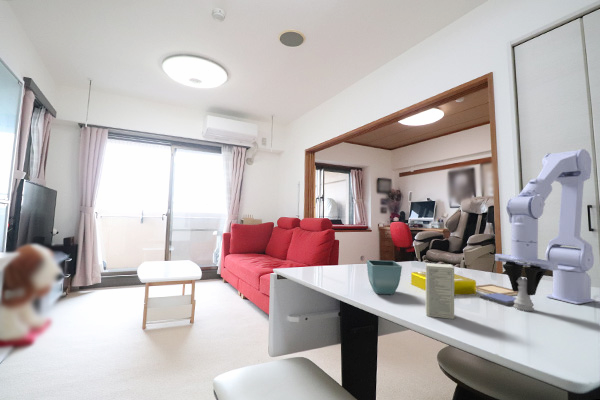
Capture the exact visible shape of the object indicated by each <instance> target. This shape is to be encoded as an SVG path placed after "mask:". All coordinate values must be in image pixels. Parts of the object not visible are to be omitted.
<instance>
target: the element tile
mask: <svg viewBox="0 0 600 400" xmlns="http://www.w3.org/2000/svg"><path fill="white" fill-rule="evenodd" d="M410 277H411V278H410V284H411V285H412V286H414V287H416V288H417V289H418V288H419V289H421V290H423V291H425V292H426V270H425V271H422V270H420V271H412V272H411V273H410ZM476 286H477V280H475V279H472V278H469V277H465V276H463V275H459V274H456V273H454V296H456V295H457V296H460V295H476V294H477V290H476Z"/></svg>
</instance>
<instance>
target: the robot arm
mask: <svg viewBox="0 0 600 400" xmlns="http://www.w3.org/2000/svg"><path fill="white" fill-rule="evenodd" d="M541 160H542V161H541V164H542V168H541V171H540V172H539V174H538V176H537V178H532V179H530V180H529V181H528V182H527V183H526V185H525V186H524V188H523V189H521V191H520V193H519V194H518V195H517V196H513V197H512V198H510V199H509V200H508V202H507V205H506V213H507V216H508V222H509V224H510V225H511V229H510V231H511V232H510V235H511V237H510V240H511V241H510V242H511V243H510V244H511V245H510V254H504V253H503V254H502V253H495V254H494V261H495V262H503V263H504V264H503V263H502V268H503V269H504V271H505V273H506V274H507V276H508V280H509V282H510V285H511V289H512V290H513V291H515V292H516V291H518V283H517V282H516V281H517V280H518V278H520V277H522V271H523V268H524V272H525V276H526V277H525V278H526V279H527V294H528V295H530V296H536V292H537V288H538V287H539V284H540V282H541V279H542V278H543V277H544V275H545V274H546V273H547V270H549V271H552V294H546V295H545V297H546V298H549V299H550V298H551V299H554V300H559V301H563V302H565V303H571V304H575V305H581V304H585V303H593V302H595V301H596V300H595V299H593V298H592V293H591V292H592V282H591V281H592V280H591V277H590V275H589V274H588V271H590V270H591V269H592V268H593V266H594V262H595V261H594V260H595V258H594V253H593V246H592V244H591V243H590V242H588V241H586V240H585V239H583V238H582V237H581V228H582V213H583V210H582V209H583V199H584V198H583V197H584V182H586V181H587V180H589V179H590V178H591V174H592V158H591V154H590V153H589V152H588V151H587V150H586V149H584V148H581V149H578V150H577V149H576V150H570V151H569V150H568V151H563V152H562V151H561V152H555V153H554V152H553V153H551V152H550V153H546V154H544V156H543V157H542V159H541ZM554 182H557V183H560V185H561V193H560V207H559V220H558V232H557V233H558V235H556V236H555V237H553V238H552V239H550V240H549V241H548V243H547V248H546V250H545V255H544V258H545V259H540V258H539V257H538V255H539V254H538V253H539V252H538V249H539V247H538V246H539V244H538V243H539V241H538V240H539V236H538V235H539V231H538V230H539V218H541V217H542V215H543V214H544V209H545V208H544V207H545V204H546V203H545V201H546V200H547V198H548V197H549V195H551V193H552V192H553V186H552V184H553V183H554ZM524 266H525V267H524ZM526 266H527V267H526Z"/></svg>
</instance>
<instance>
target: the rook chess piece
mask: <svg viewBox="0 0 600 400" xmlns="http://www.w3.org/2000/svg"><path fill="white" fill-rule="evenodd" d="M516 282H517V283H518V295H516V297H515V298H516V300H514V303H515V304H514V305H512V306H513V307H514V308H515V309H516V308H517V310H519V309H520V310H519V311H523V310H524V312H532V311H534V309H535V308H534V305H535V304H534V302H532V299H531V295H528V294H527V277H522V276H521V277H520V278H518V280H517V281H516Z"/></svg>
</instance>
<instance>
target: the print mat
mask: <svg viewBox="0 0 600 400" xmlns="http://www.w3.org/2000/svg"><path fill="white" fill-rule="evenodd" d="M476 291H478V292H482V293H485V294H493V293H500V294H504V295H508V296H512V297H514V296H517V295H518V291H516V292H515V291H513V290H512V288H507V287H503V286H501V285H500V286H499V285H496V284H490V283H489V284H488V283H487V284H481V285H476Z"/></svg>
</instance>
